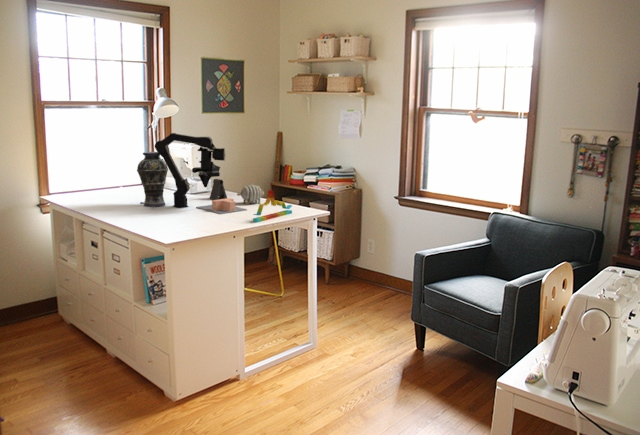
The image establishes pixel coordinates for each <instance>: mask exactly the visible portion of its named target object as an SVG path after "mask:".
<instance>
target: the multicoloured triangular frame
mask: <svg viewBox="0 0 640 435" xmlns="http://www.w3.org/2000/svg"><path fill="white" fill-rule="evenodd" d="M269 204H271V206H273V207H276V206H281V208H282V209H284V210H281V211H278V212H274V213H269V214H266V215H262V213H263V208H264V206H265V207H266V206H269ZM292 207H293V205H291V204H287V205H286V203H285V201H281V200H276V199H275V194H274V191H273V190H268V191H267V195H266V200H265V202H264V203H260V204H258V209H257V212H256V213H253V216H256V217H254V218H252V222H253V223H260V222H264V221H268V220H273V219H275V218H279V217H283V216H287V215H290V214H292V213H293V210H291V208H292ZM261 215H262V216H261Z"/></svg>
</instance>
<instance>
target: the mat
mask: <svg viewBox="0 0 640 435" xmlns="http://www.w3.org/2000/svg"><path fill="white" fill-rule="evenodd" d="M196 209H200V210H203V211H207V212H211V213H215V214H218V215H223V214H225V215H226V214H231V213H237V212H243V211H244V212H245V211H248V209H247V208H243V207H239V206H235V211H227V210H223V209H221V210H213V209H212V204H208V205H202V206H201V205H200V206H196Z"/></svg>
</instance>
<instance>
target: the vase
mask: <svg viewBox="0 0 640 435" xmlns="http://www.w3.org/2000/svg"><path fill="white" fill-rule="evenodd" d="M142 155H143V156H144V158H143V159H141V160H140V161H139V163H138V164H137V169H136V172H137V174H138V176H139V179H140V182H141V185H142V187H143V191H144V197H145V198H144V203H143V207H145V208H146V207H147V208H158V207H159V208H160V207H165V206H166V202H165V198H164V191H165V190H164V188H165V185H166V182H167V176H168V171H169V168H168V166H167V164H166V162H165V160H164V158H161V157H160V156H161V155H160V154H159V153H158V152H157V151H145V152H143V153H142Z"/></svg>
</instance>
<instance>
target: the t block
mask: <svg viewBox="0 0 640 435" xmlns="http://www.w3.org/2000/svg"><path fill="white" fill-rule="evenodd" d="M211 205H212V209H213V210H221V209H223V210H227V211H235V207H236V201H234V198H230V197H227V199H219V200H212V199H211Z"/></svg>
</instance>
